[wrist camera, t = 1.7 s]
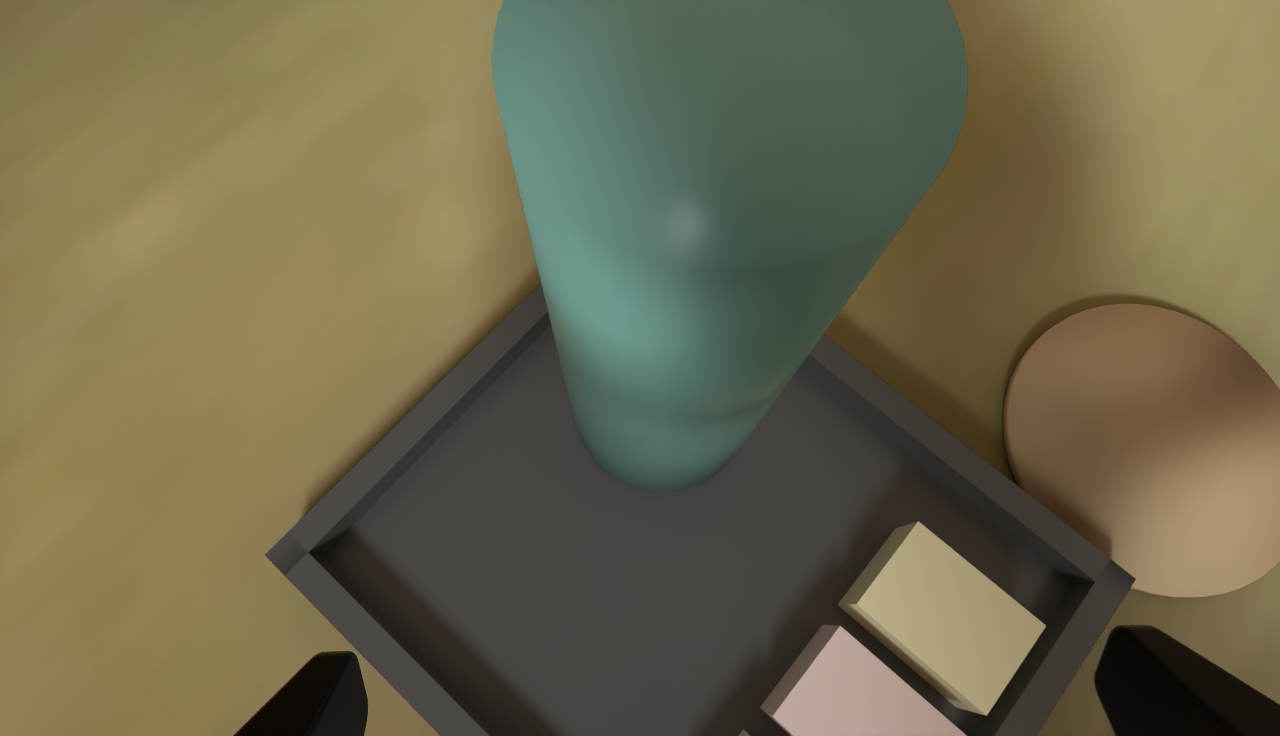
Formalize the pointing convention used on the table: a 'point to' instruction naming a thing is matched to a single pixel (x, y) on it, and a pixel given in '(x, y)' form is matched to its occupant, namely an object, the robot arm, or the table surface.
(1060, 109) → the table surface
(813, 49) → the teal cylinder
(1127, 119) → the table surface
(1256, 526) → the cork coaster
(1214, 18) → the table surface
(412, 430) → the condiment tray
